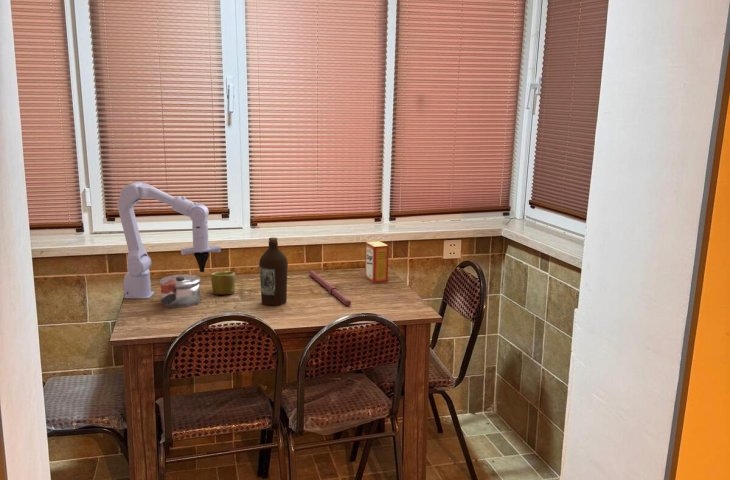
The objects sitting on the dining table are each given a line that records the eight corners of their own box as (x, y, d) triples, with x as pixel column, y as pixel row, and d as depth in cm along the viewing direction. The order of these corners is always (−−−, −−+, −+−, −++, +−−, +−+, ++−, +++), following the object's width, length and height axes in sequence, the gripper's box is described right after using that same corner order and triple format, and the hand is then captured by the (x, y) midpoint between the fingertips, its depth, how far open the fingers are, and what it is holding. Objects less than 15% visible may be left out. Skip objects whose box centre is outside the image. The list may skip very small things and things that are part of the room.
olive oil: (271, 296, 252) (270, 233, 246) (293, 300, 247) (293, 237, 241) (254, 303, 243) (252, 239, 237) (276, 308, 238) (275, 242, 232)
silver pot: (172, 294, 252) (171, 277, 250) (206, 296, 250) (205, 279, 248) (147, 311, 233) (146, 292, 231) (184, 313, 230) (183, 295, 229)
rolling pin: (352, 306, 242) (352, 298, 241) (344, 307, 241) (344, 299, 240) (314, 275, 283) (314, 268, 282) (307, 276, 281) (307, 269, 281)
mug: (232, 293, 248) (226, 268, 249) (209, 299, 251) (203, 274, 251) (246, 290, 260) (240, 266, 260) (224, 296, 263) (218, 272, 263)
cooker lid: (170, 276, 250) (170, 268, 250) (206, 278, 248) (206, 270, 248) (145, 292, 230) (144, 284, 229) (183, 294, 228) (183, 286, 228)
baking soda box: (364, 276, 281) (365, 241, 277) (378, 275, 283) (379, 240, 279) (373, 282, 272) (374, 246, 268) (387, 281, 275) (388, 244, 271)
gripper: (217, 233, 250) (219, 267, 253) (179, 235, 244) (181, 270, 248) (221, 237, 244) (222, 271, 247) (181, 239, 238) (183, 275, 241)
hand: (201, 271), depth 247 cm, fingers closed
